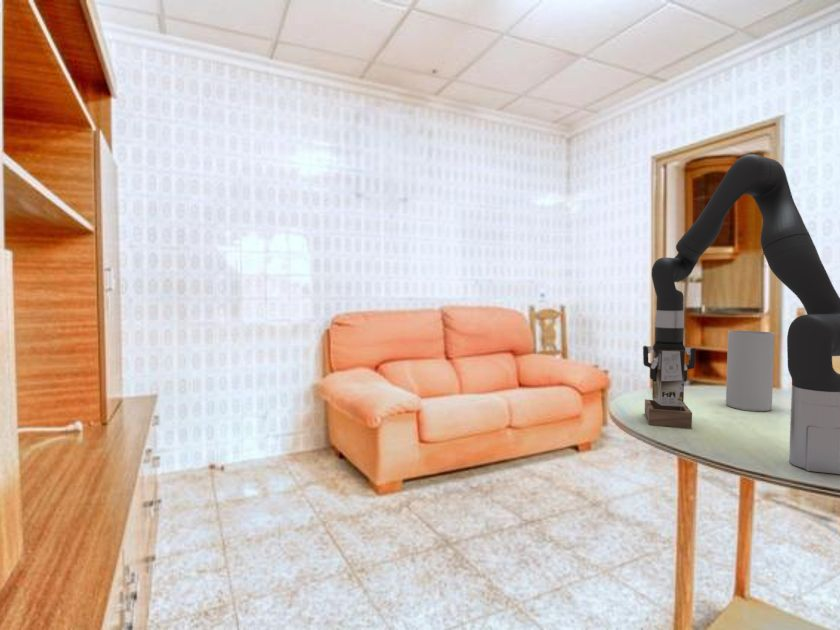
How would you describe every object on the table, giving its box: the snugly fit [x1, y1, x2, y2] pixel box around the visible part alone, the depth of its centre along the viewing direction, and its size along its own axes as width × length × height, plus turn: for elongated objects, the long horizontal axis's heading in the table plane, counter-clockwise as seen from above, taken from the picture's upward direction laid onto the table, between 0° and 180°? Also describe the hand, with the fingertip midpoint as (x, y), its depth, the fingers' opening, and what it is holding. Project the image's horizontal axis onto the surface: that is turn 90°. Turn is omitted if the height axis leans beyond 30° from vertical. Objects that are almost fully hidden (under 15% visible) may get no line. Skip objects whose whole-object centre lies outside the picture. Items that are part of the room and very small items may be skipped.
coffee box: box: [651, 349, 686, 407], centre depth 140 cm, size 9×6×16 cm
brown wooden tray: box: [644, 398, 693, 430], centre depth 141 cm, size 14×11×4 cm
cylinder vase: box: [725, 330, 775, 413], centre depth 157 cm, size 12×12×25 cm
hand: (668, 381), depth 140 cm, fingers closed on coffee box, 7 cm apart
